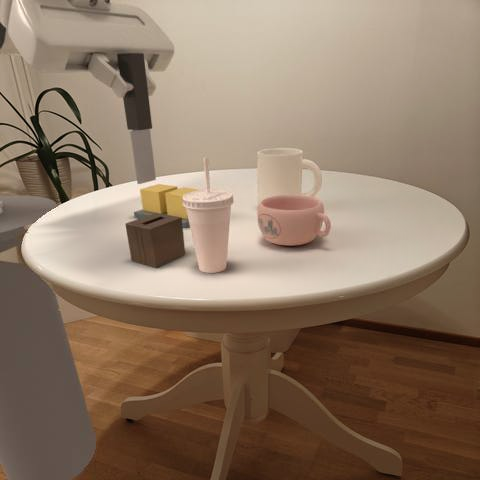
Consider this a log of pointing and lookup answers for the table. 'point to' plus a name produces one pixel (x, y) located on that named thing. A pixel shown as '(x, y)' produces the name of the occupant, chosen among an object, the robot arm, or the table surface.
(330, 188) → the table surface
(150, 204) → the butter
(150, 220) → the knife block
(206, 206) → the smoothie
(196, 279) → the table surface
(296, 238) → the mug
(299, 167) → the mug
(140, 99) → the knife
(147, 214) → the butter dish
